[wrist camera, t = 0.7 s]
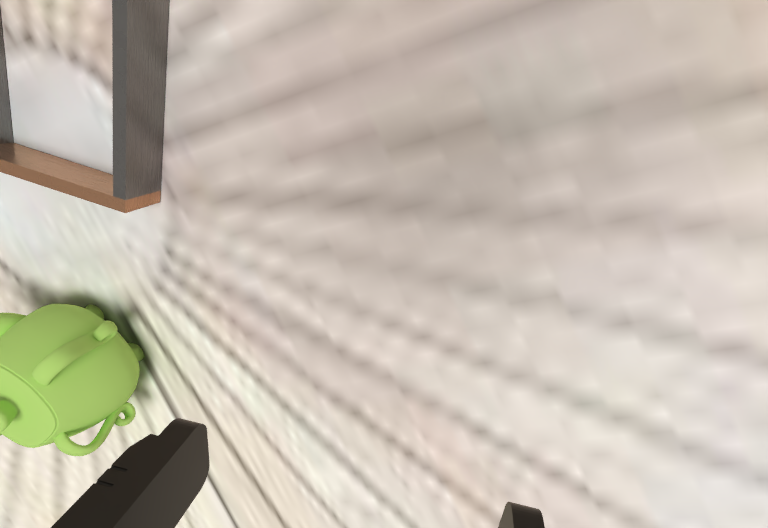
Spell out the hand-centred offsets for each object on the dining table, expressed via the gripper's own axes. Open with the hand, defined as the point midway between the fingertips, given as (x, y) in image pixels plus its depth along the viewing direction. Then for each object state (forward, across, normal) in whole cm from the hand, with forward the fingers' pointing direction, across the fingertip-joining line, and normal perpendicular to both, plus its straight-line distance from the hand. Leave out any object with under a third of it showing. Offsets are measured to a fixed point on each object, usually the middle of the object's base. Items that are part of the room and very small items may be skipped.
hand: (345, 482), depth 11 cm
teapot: (+27, +37, +22) cm, 51 cm away
